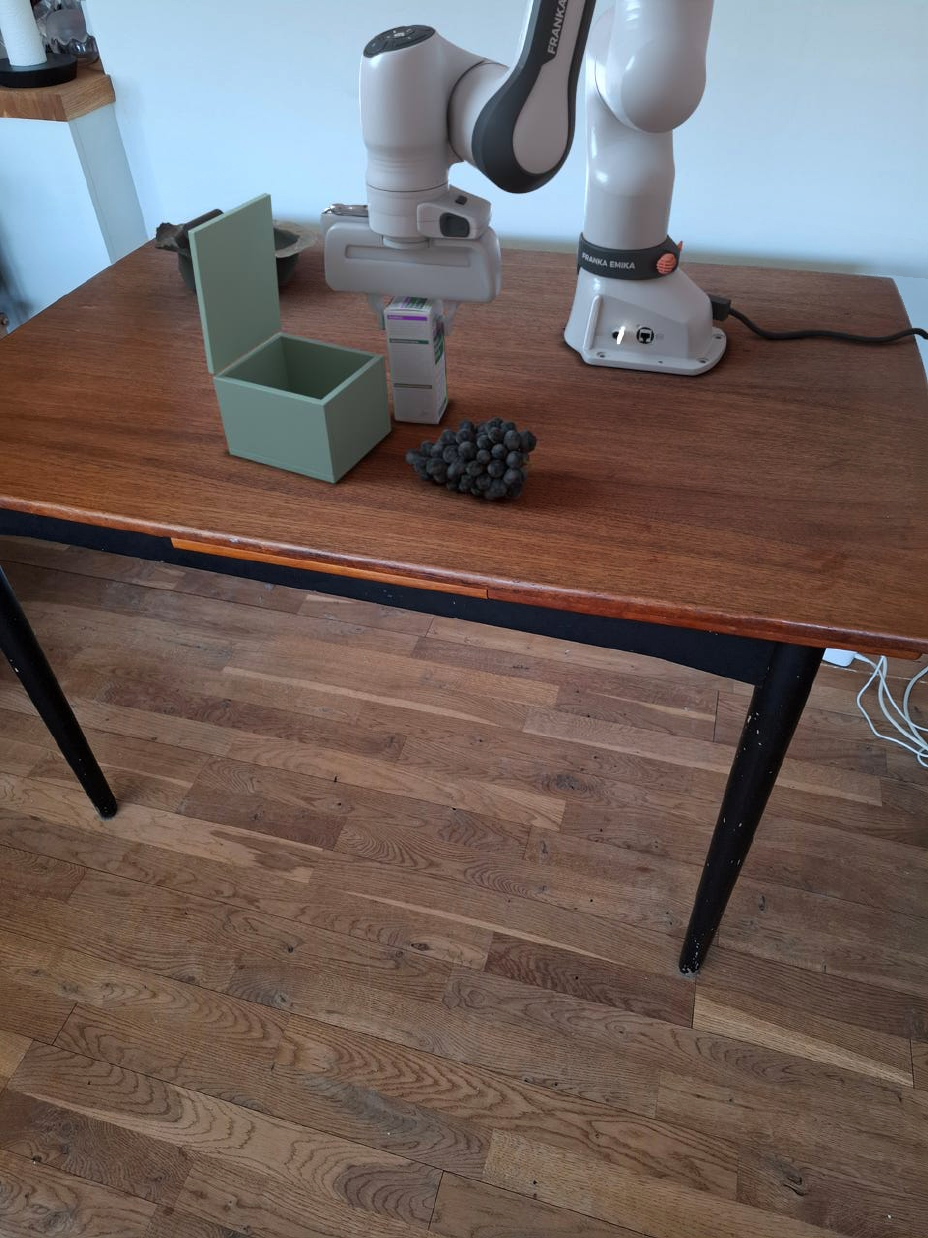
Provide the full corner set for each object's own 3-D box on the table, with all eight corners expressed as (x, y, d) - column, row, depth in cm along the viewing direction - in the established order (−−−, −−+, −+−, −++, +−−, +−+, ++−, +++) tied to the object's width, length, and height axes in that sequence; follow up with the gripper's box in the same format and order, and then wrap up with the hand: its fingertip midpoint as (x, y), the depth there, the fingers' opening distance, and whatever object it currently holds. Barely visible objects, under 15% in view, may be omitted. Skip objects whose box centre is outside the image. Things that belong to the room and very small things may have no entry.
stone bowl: (147, 310, 136) (131, 247, 130) (193, 261, 155) (181, 204, 150) (307, 307, 135) (298, 243, 129) (333, 258, 154) (326, 200, 148)
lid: (270, 194, 96) (232, 183, 97) (194, 232, 87) (153, 220, 89) (281, 329, 107) (247, 317, 108) (214, 374, 98) (178, 361, 100)
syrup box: (438, 425, 109) (433, 310, 100) (392, 421, 110) (382, 307, 101) (448, 402, 114) (444, 290, 104) (404, 399, 115) (395, 287, 105)
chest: (391, 430, 109) (385, 354, 102) (334, 483, 100) (323, 405, 94) (291, 405, 114) (279, 331, 107) (229, 454, 105) (212, 377, 99)
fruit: (393, 413, 94) (531, 431, 90) (420, 401, 101) (549, 416, 97) (391, 493, 97) (524, 513, 93) (417, 475, 104) (542, 493, 101)
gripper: (307, 211, 95) (323, 334, 104) (494, 223, 91) (493, 350, 101) (328, 192, 100) (341, 312, 109) (506, 204, 96) (504, 327, 105)
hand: (415, 330), depth 105 cm, fingers closed on syrup box, 5 cm apart
